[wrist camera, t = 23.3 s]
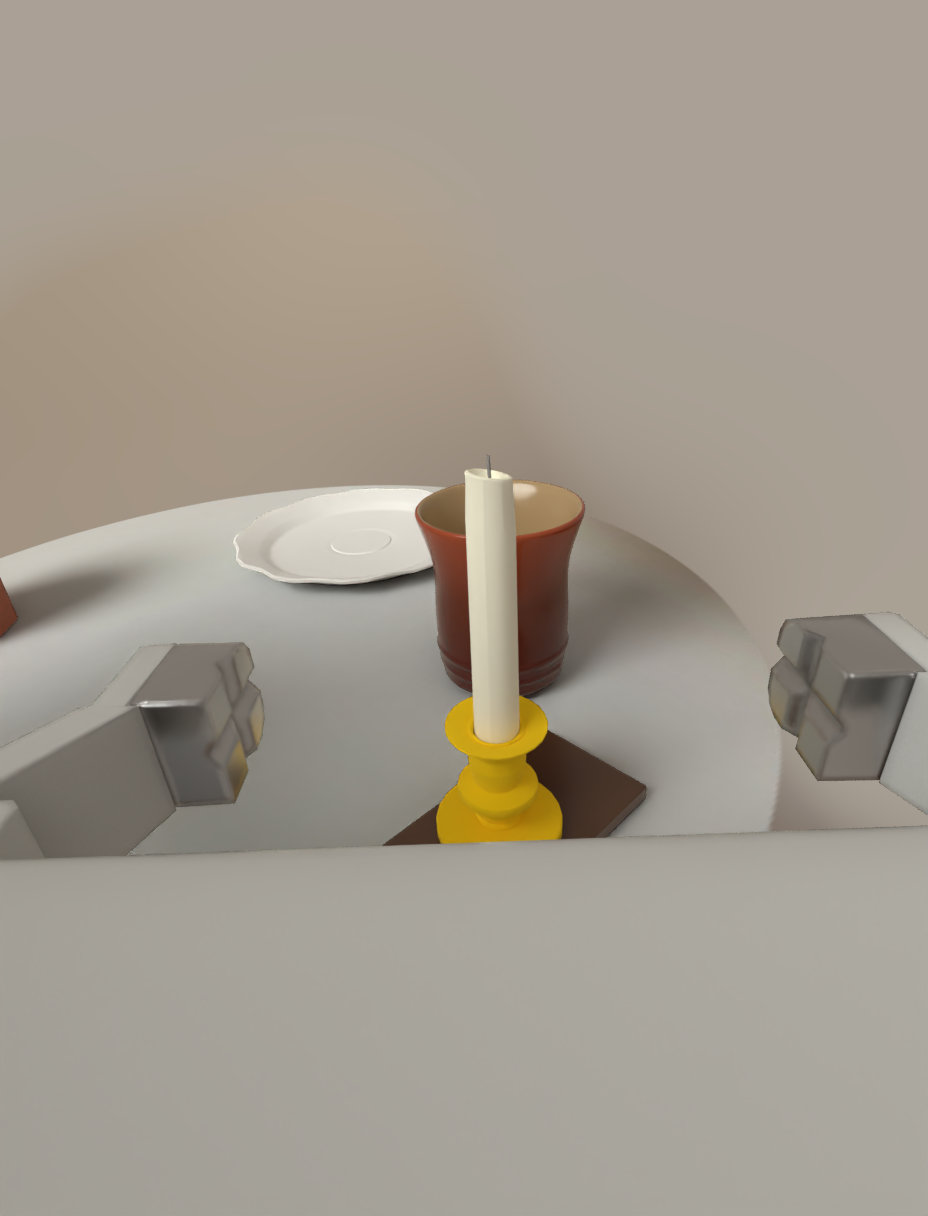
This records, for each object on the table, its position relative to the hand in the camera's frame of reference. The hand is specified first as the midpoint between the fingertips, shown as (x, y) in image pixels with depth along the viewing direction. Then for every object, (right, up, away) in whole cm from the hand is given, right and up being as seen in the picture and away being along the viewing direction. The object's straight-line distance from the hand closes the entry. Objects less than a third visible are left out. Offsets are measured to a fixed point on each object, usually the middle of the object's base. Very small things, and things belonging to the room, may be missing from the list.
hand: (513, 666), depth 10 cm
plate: (-10, +6, +46) cm, 47 cm away
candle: (+1, -8, +17) cm, 19 cm away
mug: (+1, -2, +29) cm, 30 cm away
